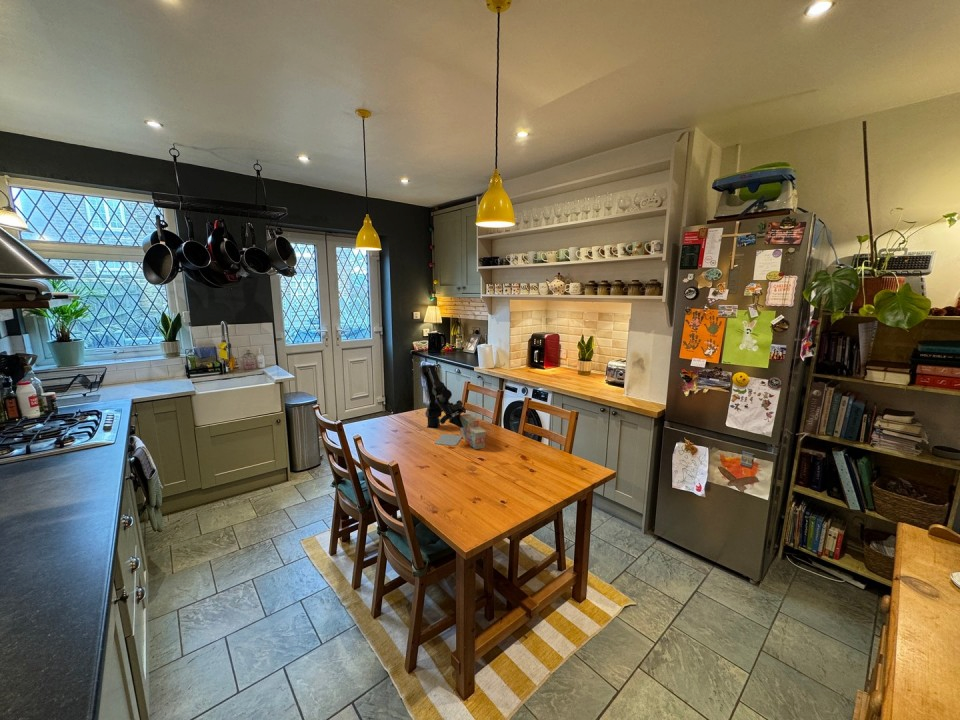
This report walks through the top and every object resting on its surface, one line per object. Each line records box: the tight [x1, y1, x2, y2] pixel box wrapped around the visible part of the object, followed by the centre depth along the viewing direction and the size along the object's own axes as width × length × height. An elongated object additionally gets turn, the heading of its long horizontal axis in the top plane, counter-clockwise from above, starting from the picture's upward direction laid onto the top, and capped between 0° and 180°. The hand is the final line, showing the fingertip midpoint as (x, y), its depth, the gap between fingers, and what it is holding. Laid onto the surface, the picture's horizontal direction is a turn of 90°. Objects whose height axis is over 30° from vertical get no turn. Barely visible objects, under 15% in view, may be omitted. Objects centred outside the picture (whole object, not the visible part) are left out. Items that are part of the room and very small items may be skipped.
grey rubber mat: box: [434, 433, 462, 447], centre depth 215 cm, size 12×14×1 cm
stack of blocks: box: [459, 413, 487, 450], centre depth 212 cm, size 21×6×12 cm, turn 25°
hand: (462, 427), depth 213 cm, fingers closed
